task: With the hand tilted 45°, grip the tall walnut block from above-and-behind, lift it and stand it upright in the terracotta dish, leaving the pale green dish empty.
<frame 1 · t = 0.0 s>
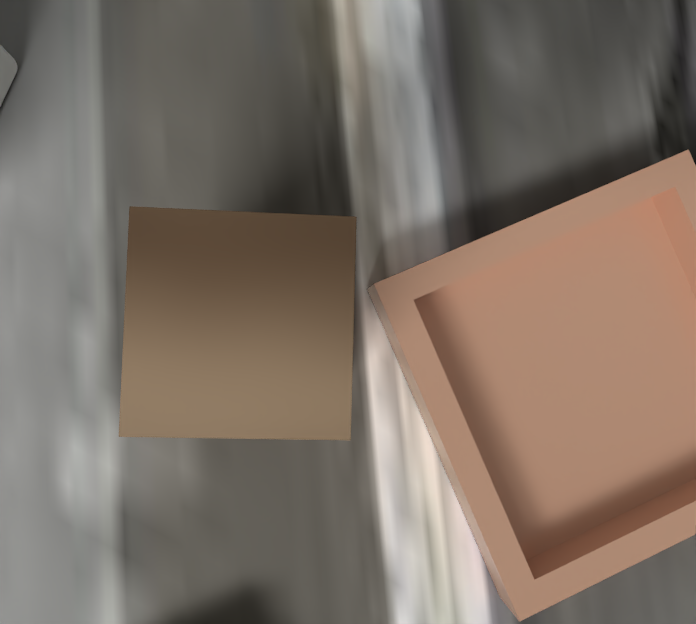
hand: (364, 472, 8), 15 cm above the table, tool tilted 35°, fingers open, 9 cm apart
terracotta dish: (580, 375, 23), on the table
walnut block: (263, 333, 23), on the table
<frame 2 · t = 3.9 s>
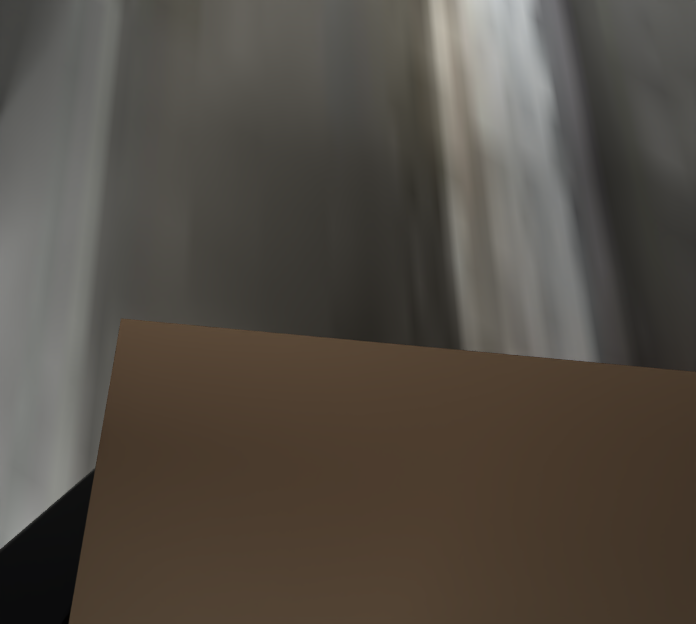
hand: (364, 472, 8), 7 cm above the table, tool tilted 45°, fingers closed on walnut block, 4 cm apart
walnut block: (321, 544, 14), on the table, touching gripper
when the fingers open (8 cm above the table, at t = 7.3 s): walnut block drops 1 cm, resting on terracotta dish.
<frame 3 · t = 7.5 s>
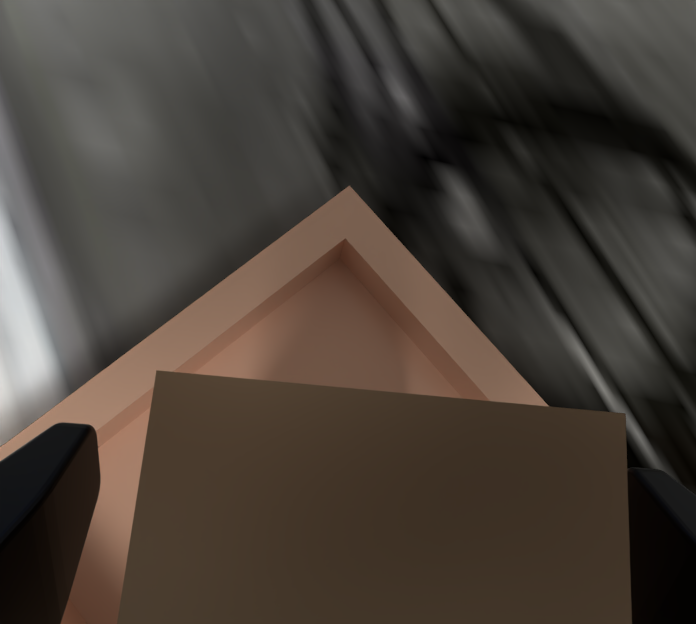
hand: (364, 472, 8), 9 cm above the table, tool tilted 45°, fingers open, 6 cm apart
terracotta dish: (316, 536, 16), on the table
walnut block: (317, 538, 15), point 1 cm above the table, touching terracotta dish
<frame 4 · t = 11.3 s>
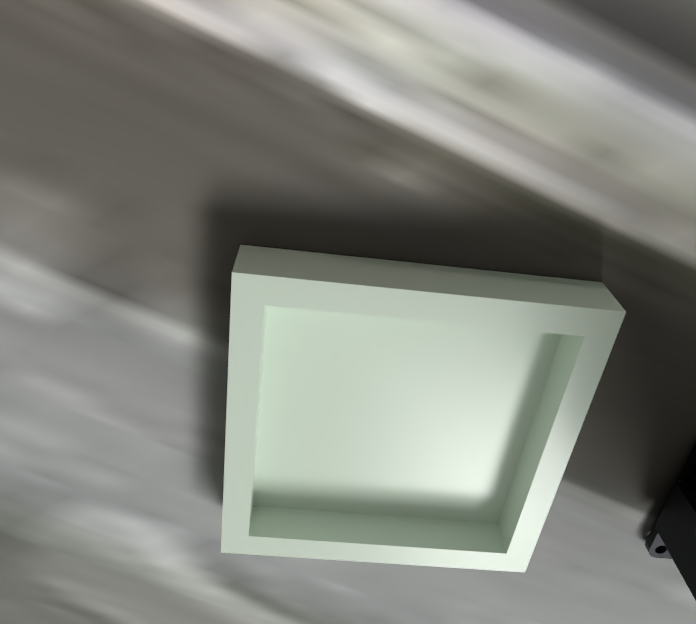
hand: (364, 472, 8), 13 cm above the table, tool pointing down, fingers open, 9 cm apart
pale green dish: (396, 409, 24), on the table
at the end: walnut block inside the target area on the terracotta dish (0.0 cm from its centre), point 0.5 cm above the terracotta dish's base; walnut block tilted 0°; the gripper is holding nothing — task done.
